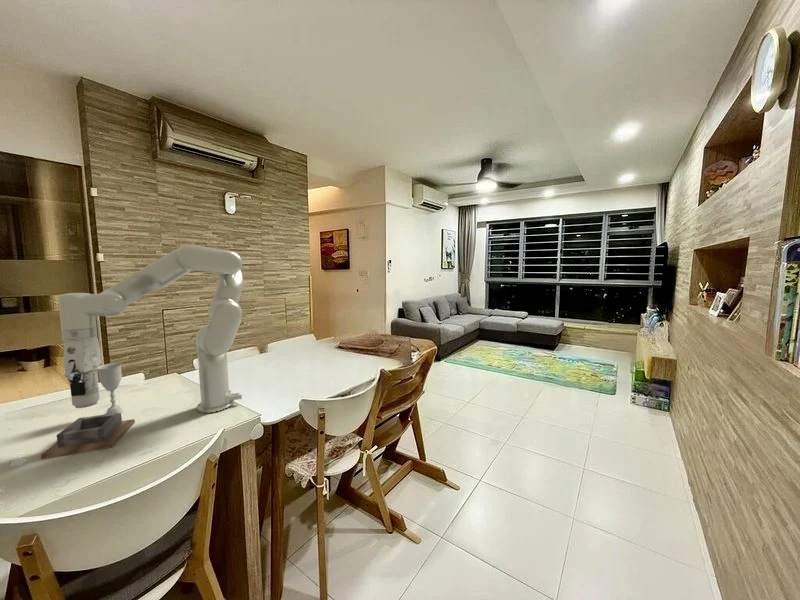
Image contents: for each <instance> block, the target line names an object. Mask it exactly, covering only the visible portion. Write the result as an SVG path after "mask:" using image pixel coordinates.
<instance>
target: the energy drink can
mask: <svg viewBox="0 0 800 600" xmlns="http://www.w3.org/2000/svg"><path fill="white" fill-rule="evenodd" d="M97 371H98V370H97V367H96V361H94V362H93V369H92V370H90V371H89V372H86V373H84V377H83V382H85V389H86V394H85V395H80V396H71V395H70V397H71V403H72V404H71V405H72V406H74V408H76V409H84V408H88V407H93V406H95V405H97V404H98V401H100V390H99V389H100V388H99V376H98V373H97ZM74 372H80V371H79V370H74ZM75 376H77V377H78V378H79V374H76V375H75Z"/></svg>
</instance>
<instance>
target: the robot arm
mask: <svg viewBox="0 0 800 600" xmlns="http://www.w3.org/2000/svg"><path fill="white" fill-rule="evenodd" d="M242 267H243V259H242V257H241V256H240V255H239V254H238V253H237V252H235V251H232V250H227V249H220V248H214V247H206V246H202V245H196V244H195V245H194V244H187V245H183V246H179V247H178V248H176V249H174V250H173V251H170V252H169V253H167V254H166V255H164V256H162V257H160V258H158V259H156V260H155V261H153V262H152V263H150V264H148V265H146V266H144V267H143V268H140V270H138V271H136V272H135V273H134V274H132V275H130V276H128V277H127V278H126V277H125V279H123V280H121V281H119V282H118V283H116V284H114V285H112V286H111V287H109V288H107V289H105V290H103V291H102V292H100V293H94V294H93V293H88V292H70V293H63V294H61V295H59V297H58V298H57V299H58V310H59V319H60V331H61V340H62V341H63V368H64V371H65V372H64V378H66V379H67V381H68V384H69V386H70V397H71V396H80V395H85V394H86V389H85V382H83V377H84V373H86V372H89V371H90V370H92V369H93V362H94V361H96V367H98V366H101V365H102V361H103V359H102V353H101V346H100V343H99V339H98V328H97V317H115V316H119V315H121V314H123V313H124V312H125V311H126V310H127V308H128V306H129V305H131V304H132V303H133V302H136V301H138V299H140V298H142V297H144V296H146V295H148V294H150V293H154V292H156V291H160V290H162V289H164V288H166V287H168V286H169V285H171V284H173V283H174V282H175V281H178V280H179V279H180V278H182V277H184V276H186V275H187V274H189V273H190V272H192V271H198V272H206V273H213V274H217V276H218V283H217V287H216V290H215V292H214V295H213V298H212V300H211V302H210V304H209V307H208V311H207V313H208V314H207V315H208V316H209V319H210V322H209V325H204V326H203V327H201V328H199V330H198V331H197V332H196V335H195V340H194V342H195V348H196V354H197V362H198V377H199V380H198V381H199V390H200V391H199V392H200V402H198V404H197V406H196V411H197V412H199V413H203V414H205V413H206V414H210V413H211V412H212V413H217V412H216V411H218V412H221V411H224V410H226V409H225V408H227V409H229V408H230V407H232V406H233V405H234V404H233V403H235V401H237V400H242V399H243V394H241V393H240V392H236V393H233V392H232V390H231V389H230V386H229V385H230V384H229V368H228V356H227V352H228V351H229V350H230V349H231V347H232V345H233V343H234V341H235V338H236V336H237V333H238V330H239V328H240V325H241V322H242V318H243V310H242V308H241V306H240V304H239V302H240V299H241V298H240V297H241V294H242V292H243V288H244V277H243V272H242V270H241V269H242ZM74 370H79V371H80V372H74ZM76 374H79V378H78V377H77V376H75V375H76ZM97 374H99V373H98V370H97ZM232 404H233V405H232ZM231 405H232V406H231ZM229 406H230V407H229ZM228 407H229V408H228ZM223 409H224V410H223ZM220 410H221V411H220ZM212 413H211V414H212Z"/></svg>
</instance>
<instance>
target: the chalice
mask: <svg viewBox="0 0 800 600" xmlns="http://www.w3.org/2000/svg"><path fill="white" fill-rule="evenodd" d="M122 365H123V362H111V363H106V364H100V365H99V366H98V367H97V371H98V373H97V374H98V382H99V383H100V384H101V386H102V387H103V388H104V389H105V391H107V392H109V393H110V394H109V397H110V400H109V402H110V403H111V406H110V407H108V408H107V411H106V412H105V415H106V414H114V413H121V414H122V413H123V412H124V409H123V407H121V406H120V405H119V404H118V405H117V404H116V401H117V399H116V398H115V397H116V394H115V390H117V389H118V387H119V385H120V384H121V382H122V381H121V380H122V376H123V374H122Z"/></svg>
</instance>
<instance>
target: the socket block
mask: <svg viewBox="0 0 800 600" xmlns="http://www.w3.org/2000/svg"><path fill="white" fill-rule="evenodd" d="M135 423H136V421H135V419H134V418H133V419H127V420H122V413H114V414H106V413H105V414H101V415H99V414H98V415H93V416H82V417H78V418H77V419H76V420H74V421H73V422H72V423H70V424H69V425H68V426H66V427H65V428H64V429H63V430H61V431H60V432H59V433H58V434H56V442H55V443H53V444H52V445H51V446H50V447H48V449H46V450H45V451H43V452H42V453H41V454H40V458H41V459H47V458H48V459H49V458H54V457H60V456H67V455H75V454H79V453H87V452H92V451H98V450H105V449H106V450H107V449H110V448H113V447H114V446H115V445H116V443H117V442H119V440H120V439H121V438H122V437H124V435H125V434H126V433H127V431H128V430H129V429H130V428H131V427H132V426H133V425H134V424H135Z"/></svg>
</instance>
